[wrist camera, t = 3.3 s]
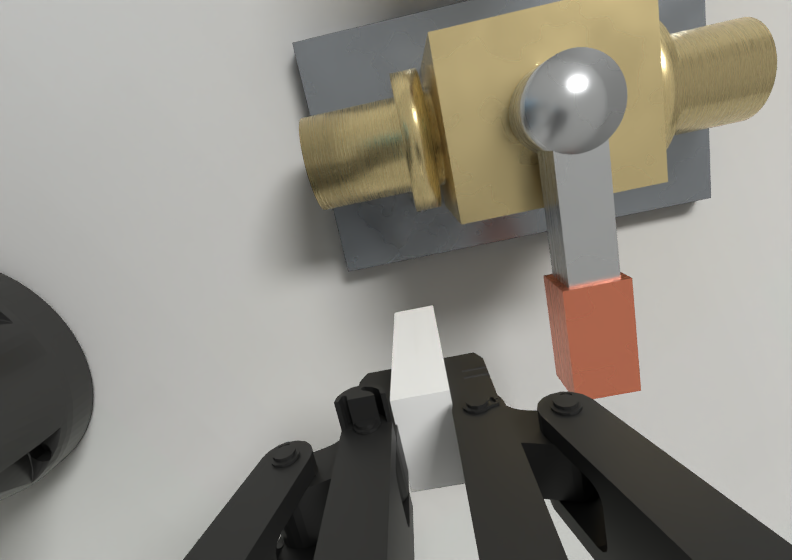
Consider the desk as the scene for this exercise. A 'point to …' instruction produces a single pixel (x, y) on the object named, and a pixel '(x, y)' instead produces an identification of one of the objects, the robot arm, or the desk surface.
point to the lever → (581, 217)
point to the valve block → (489, 115)
